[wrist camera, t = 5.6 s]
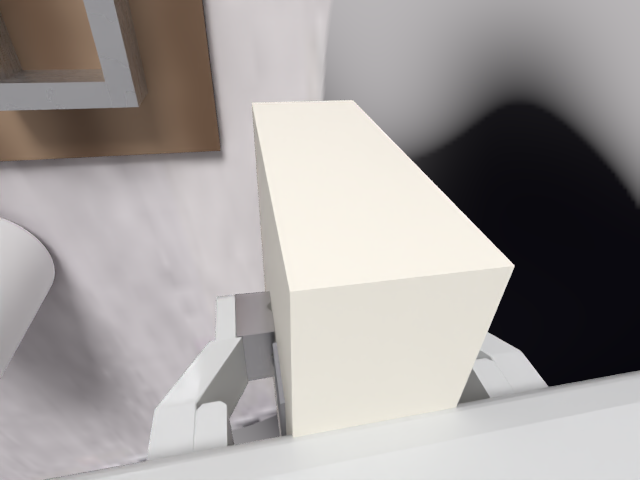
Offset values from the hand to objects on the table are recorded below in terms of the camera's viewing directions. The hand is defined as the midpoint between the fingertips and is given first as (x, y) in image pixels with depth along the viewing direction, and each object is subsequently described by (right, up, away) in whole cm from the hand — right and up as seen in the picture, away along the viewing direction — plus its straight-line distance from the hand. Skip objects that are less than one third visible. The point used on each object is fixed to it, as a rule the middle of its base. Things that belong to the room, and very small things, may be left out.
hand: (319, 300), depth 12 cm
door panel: (-1, +2, +3) cm, 3 cm away
